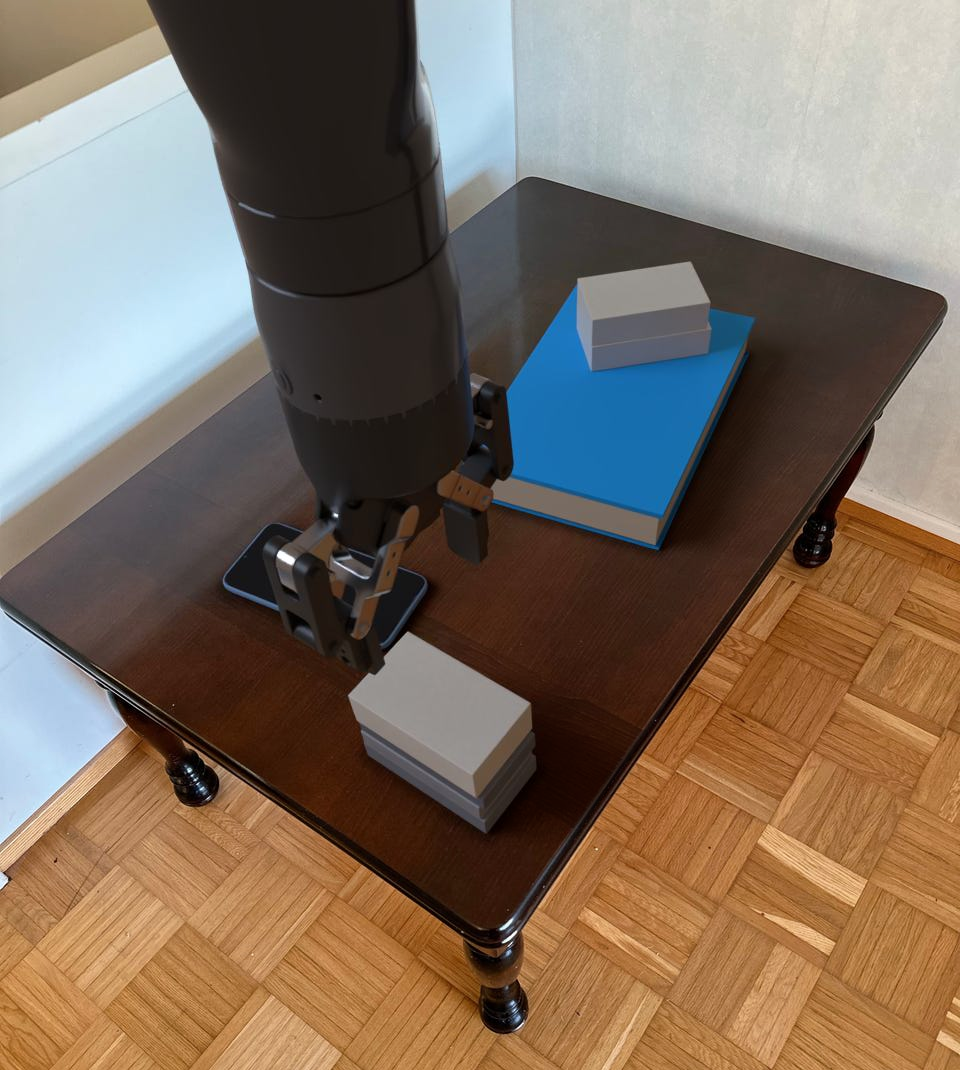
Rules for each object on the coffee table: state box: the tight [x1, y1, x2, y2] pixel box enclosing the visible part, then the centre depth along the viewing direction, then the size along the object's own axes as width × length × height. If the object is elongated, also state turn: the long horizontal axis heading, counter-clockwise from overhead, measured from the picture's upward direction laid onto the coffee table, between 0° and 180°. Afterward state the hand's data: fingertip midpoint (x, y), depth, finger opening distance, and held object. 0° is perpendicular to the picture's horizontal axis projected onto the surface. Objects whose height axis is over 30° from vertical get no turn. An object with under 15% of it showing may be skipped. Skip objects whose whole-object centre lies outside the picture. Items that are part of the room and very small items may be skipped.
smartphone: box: [222, 522, 428, 650], centre depth 72 cm, size 7×1×15 cm
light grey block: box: [347, 631, 533, 798], centre depth 57 cm, size 10×6×3 cm, turn 53°
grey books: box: [358, 722, 537, 834], centre depth 60 cm, size 10×6×5 cm, turn 53°
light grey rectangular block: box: [576, 261, 712, 371], centre depth 78 cm, size 10×6×5 cm, turn 98°
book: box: [458, 283, 756, 551], centre depth 79 cm, size 17×4×25 cm
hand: (419, 606), depth 49 cm, fingers open, 8 cm apart
